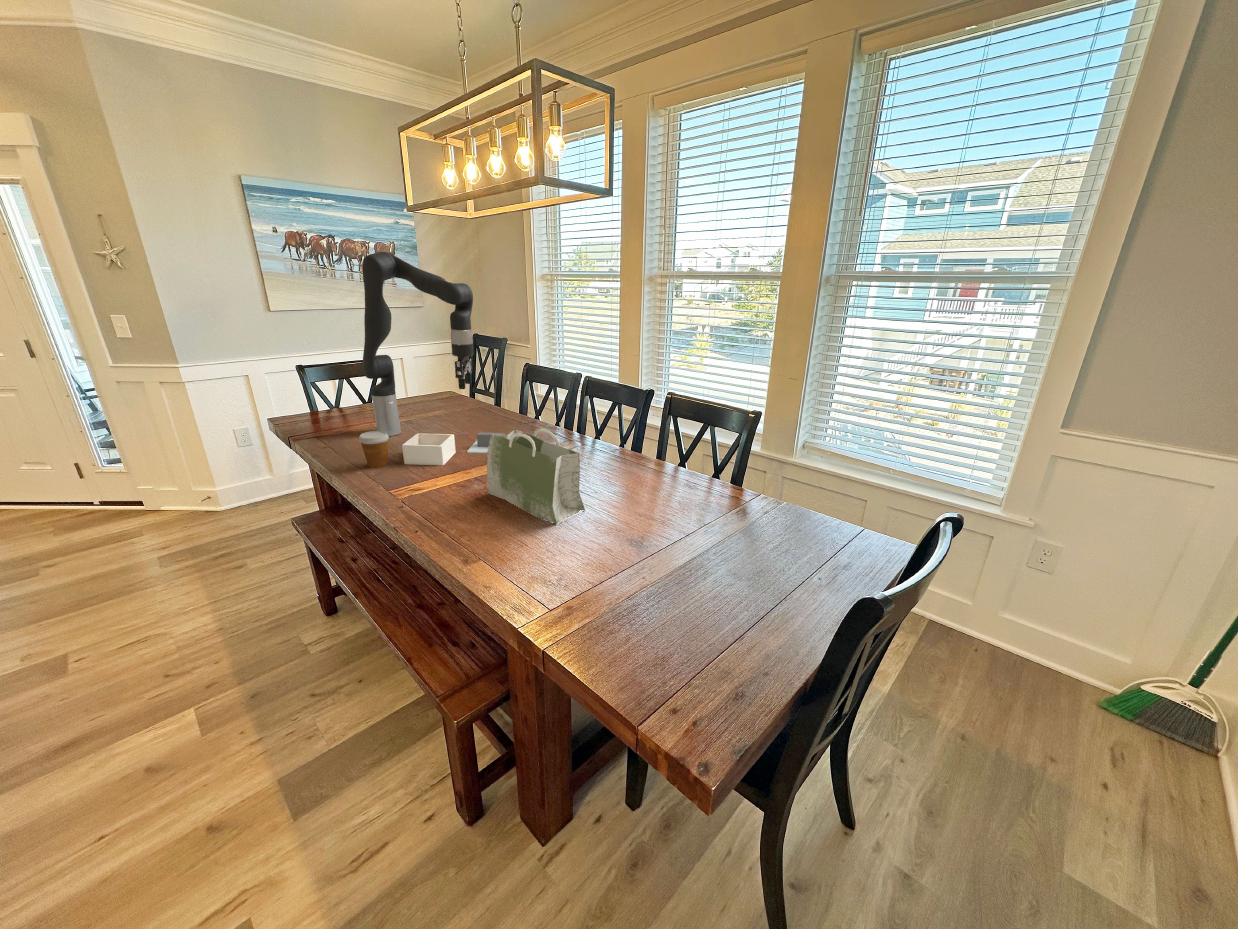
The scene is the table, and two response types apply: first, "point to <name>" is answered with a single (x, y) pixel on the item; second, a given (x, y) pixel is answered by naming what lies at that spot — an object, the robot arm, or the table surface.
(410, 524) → the table surface
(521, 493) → the grocery bag
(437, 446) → the storage box
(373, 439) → the disposable coffee cup
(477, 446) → the box lid
